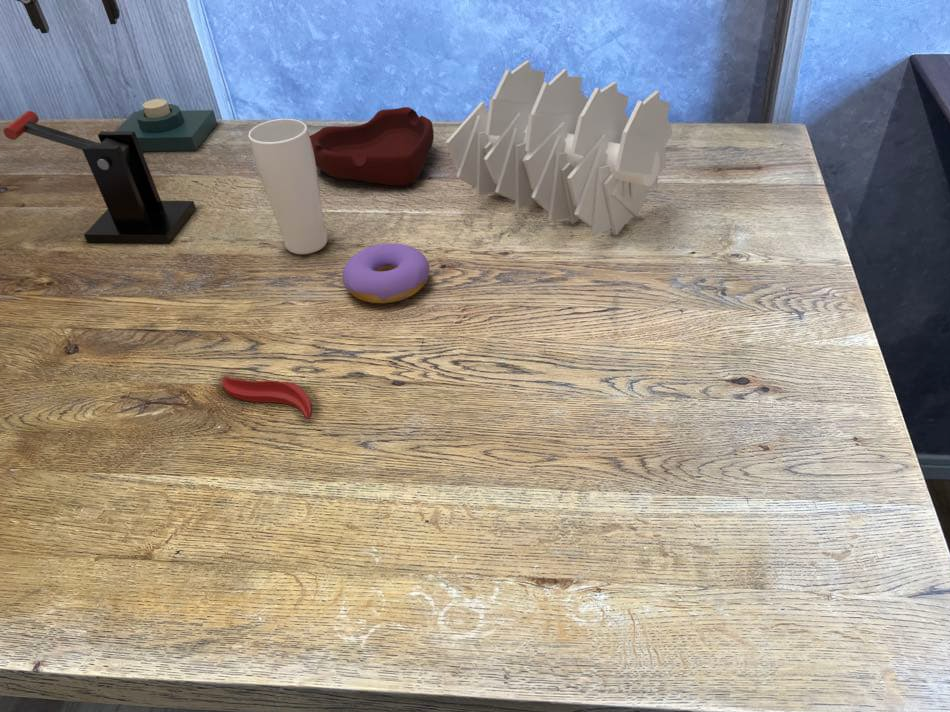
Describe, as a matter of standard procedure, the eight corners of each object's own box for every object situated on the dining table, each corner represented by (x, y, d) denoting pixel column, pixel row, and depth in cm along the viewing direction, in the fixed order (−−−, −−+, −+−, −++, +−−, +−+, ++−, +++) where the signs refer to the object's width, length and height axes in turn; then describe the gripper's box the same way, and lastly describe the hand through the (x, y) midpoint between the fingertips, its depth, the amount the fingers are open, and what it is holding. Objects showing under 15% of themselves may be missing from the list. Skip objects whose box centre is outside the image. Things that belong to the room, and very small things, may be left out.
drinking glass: (336, 254, 101) (309, 138, 91) (280, 263, 100) (247, 147, 90) (332, 227, 106) (306, 114, 96) (279, 236, 105) (246, 122, 95)
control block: (113, 151, 125) (102, 126, 122) (139, 124, 132) (130, 100, 130) (196, 150, 124) (187, 125, 122) (217, 123, 132) (209, 98, 129)
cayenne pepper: (326, 406, 80) (322, 391, 79) (289, 432, 77) (284, 417, 76) (250, 361, 86) (245, 346, 84) (213, 384, 83) (207, 370, 82)
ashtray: (355, 210, 109) (348, 175, 106) (304, 167, 119) (295, 134, 116) (467, 170, 117) (464, 136, 113) (410, 133, 126) (405, 101, 123)
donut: (420, 252, 100) (417, 222, 96) (439, 306, 95) (437, 276, 91) (339, 269, 98) (332, 238, 94) (353, 324, 92) (347, 295, 89)
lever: (4, 140, 98) (1, 122, 97) (26, 123, 102) (24, 105, 100) (117, 175, 100) (116, 157, 99) (134, 156, 104) (134, 139, 102)
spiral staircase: (512, 202, 117) (667, 242, 106) (432, 199, 103) (601, 245, 91) (535, 67, 111) (701, 93, 100) (452, 44, 97) (636, 72, 85)
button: (142, 119, 125) (138, 108, 124) (151, 110, 127) (147, 99, 126) (165, 119, 125) (161, 107, 123) (174, 109, 127) (170, 98, 126)
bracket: (87, 242, 105) (47, 156, 97) (118, 208, 112) (83, 124, 104) (169, 243, 104) (135, 156, 96) (196, 208, 111) (166, 124, 103)
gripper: (90, -127, 101) (138, 12, 112) (-36, -116, 98) (26, 25, 109) (84, -117, 96) (135, 28, 107) (-49, -104, 93) (17, 43, 104)
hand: (80, 27), depth 108 cm, fingers open, 8 cm apart
